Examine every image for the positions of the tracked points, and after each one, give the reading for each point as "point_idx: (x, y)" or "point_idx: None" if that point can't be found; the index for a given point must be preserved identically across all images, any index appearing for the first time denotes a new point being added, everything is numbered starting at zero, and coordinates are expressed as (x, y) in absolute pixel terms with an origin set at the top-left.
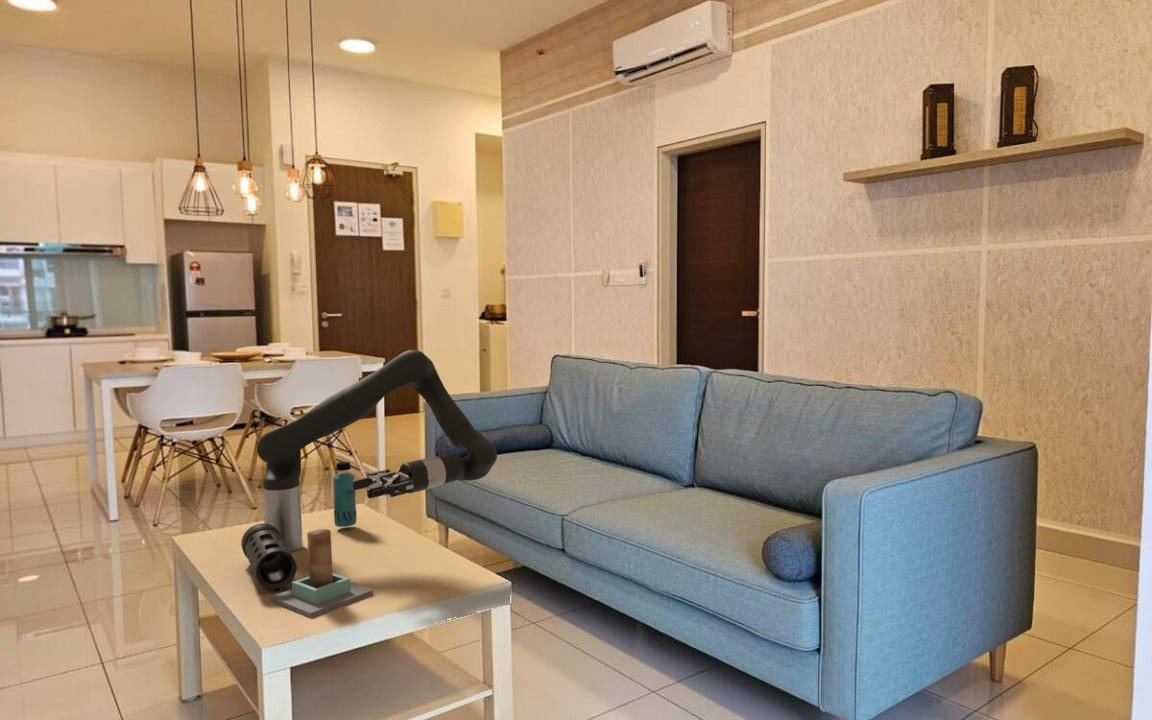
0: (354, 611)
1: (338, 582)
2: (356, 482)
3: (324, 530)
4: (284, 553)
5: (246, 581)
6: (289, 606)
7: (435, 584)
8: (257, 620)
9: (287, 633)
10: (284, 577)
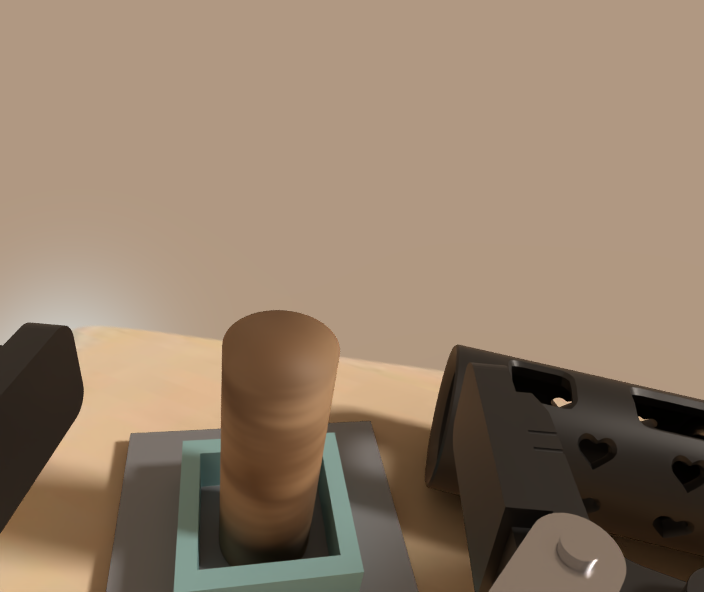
0: (20, 560)
1: (178, 534)
2: (472, 395)
3: (289, 369)
4: (453, 393)
5: None
6: None
7: None
8: None
9: (99, 370)
10: None
